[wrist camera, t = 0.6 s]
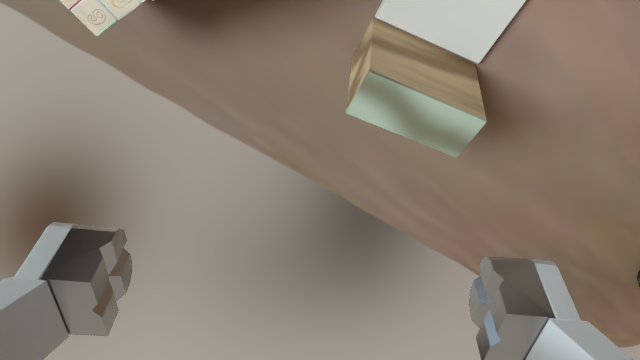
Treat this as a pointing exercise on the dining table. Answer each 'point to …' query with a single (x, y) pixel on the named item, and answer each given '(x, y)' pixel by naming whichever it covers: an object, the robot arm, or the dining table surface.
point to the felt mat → (452, 22)
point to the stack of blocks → (101, 12)
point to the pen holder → (638, 278)
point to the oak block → (415, 90)
